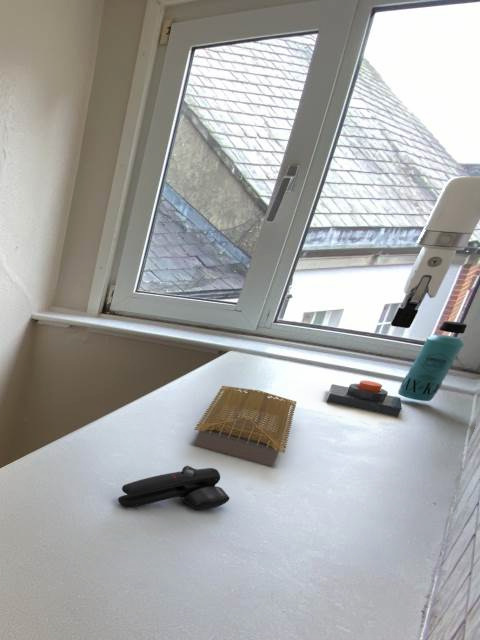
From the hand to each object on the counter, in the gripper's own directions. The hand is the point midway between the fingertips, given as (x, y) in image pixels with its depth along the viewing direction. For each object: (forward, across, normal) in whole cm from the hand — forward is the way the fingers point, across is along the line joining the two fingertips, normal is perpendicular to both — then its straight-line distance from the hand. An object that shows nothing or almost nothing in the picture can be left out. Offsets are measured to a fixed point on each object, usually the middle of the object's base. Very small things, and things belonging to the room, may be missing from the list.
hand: (399, 326), depth 124 cm
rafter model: (+19, -42, +19) cm, 49 cm away
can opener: (+19, -86, +23) cm, 92 cm away
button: (+16, 0, 0) cm, 16 cm away
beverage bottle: (+19, +12, -10) cm, 25 cm away
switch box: (+19, 0, 0) cm, 19 cm away
